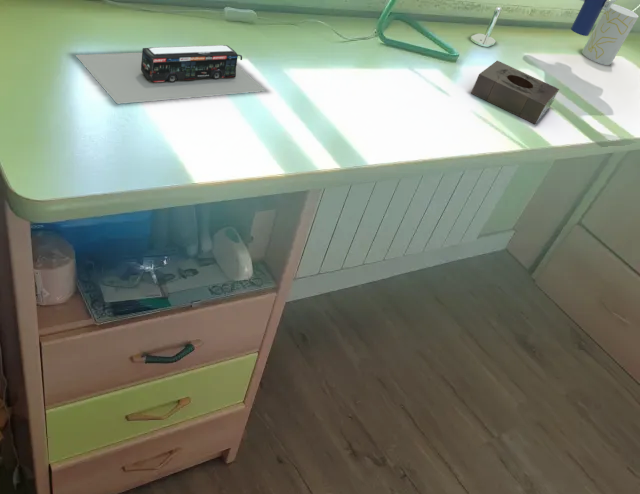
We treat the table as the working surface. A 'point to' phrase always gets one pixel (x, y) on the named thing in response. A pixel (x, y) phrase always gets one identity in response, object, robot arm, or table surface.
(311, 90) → the table surface
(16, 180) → the table surface
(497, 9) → the stand
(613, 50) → the cup
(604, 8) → the robot arm
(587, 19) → the bottle
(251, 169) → the table surface
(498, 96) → the block
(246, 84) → the toy bus on base
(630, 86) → the table surface
